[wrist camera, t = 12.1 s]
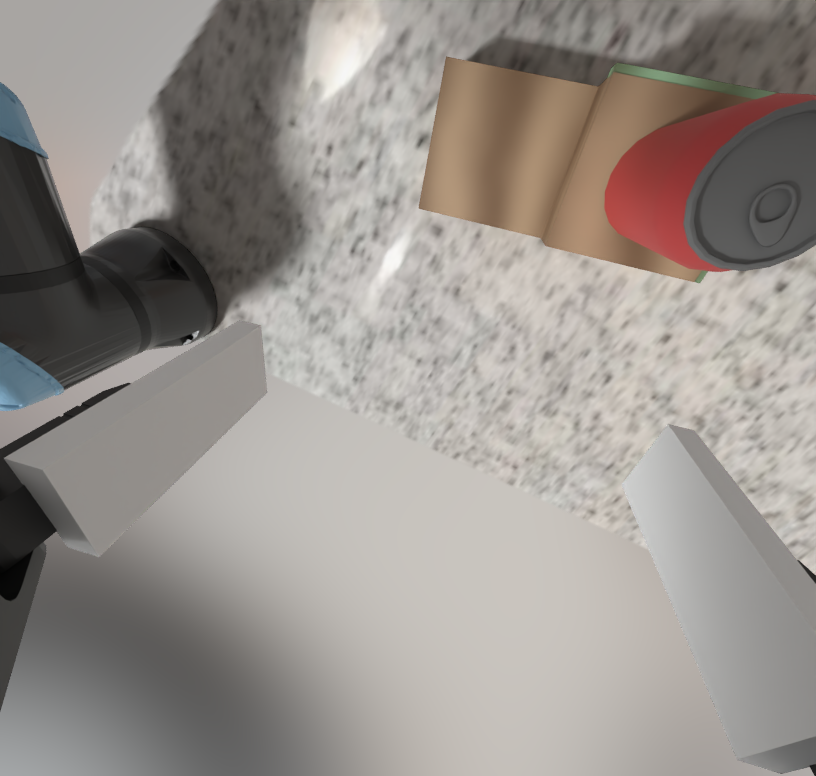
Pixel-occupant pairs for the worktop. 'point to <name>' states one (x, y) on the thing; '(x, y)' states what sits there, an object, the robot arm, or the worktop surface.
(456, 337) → the worktop surface
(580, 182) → the step stand
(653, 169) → the beer can
